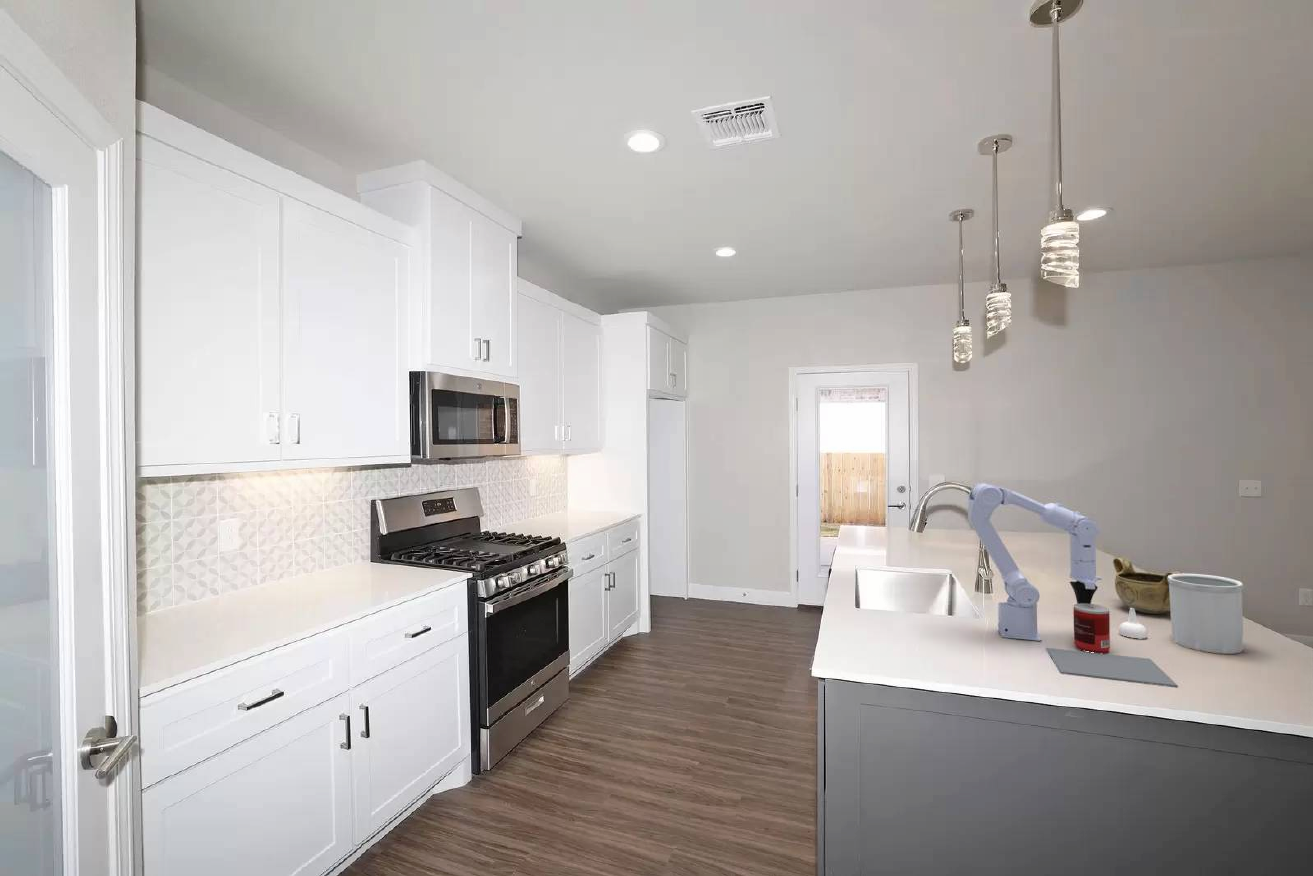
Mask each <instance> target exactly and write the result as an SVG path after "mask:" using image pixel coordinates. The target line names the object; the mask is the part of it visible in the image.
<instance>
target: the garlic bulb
mask: <svg viewBox="0 0 1313 876" xmlns="http://www.w3.org/2000/svg"><path fill="white" fill-rule="evenodd" d="M1118 633H1119V634H1120V635H1121V636H1122V635H1123V636H1122V637H1124V636H1127V637H1126V638H1128V637H1131V638H1130V639H1132V638H1138V639H1137V640H1144V639H1147V637H1148V630H1147V628H1146V627H1145V626H1144V625H1143V624H1141V623H1139V621H1138V618H1137V614H1136V610H1135V609H1133V608H1130V607H1129V612H1128V619H1127V621H1124V622H1121V623H1120V625H1119V626H1118ZM1143 638H1144V639H1143Z"/></svg>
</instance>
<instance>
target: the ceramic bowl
mask: <svg viewBox="0 0 1313 876" xmlns="http://www.w3.org/2000/svg"><path fill="white" fill-rule="evenodd" d="M1112 563H1113V567H1114V569H1115V571H1116V574H1115V581H1114V587H1115V588H1114V589H1115V592H1116V594H1117V596H1118V598H1119V599H1120V601H1121V602H1122V603H1123V604H1124V605H1126V607H1128V608H1129V609H1130V608H1133V609H1135V612H1139V613H1143V614H1148V615H1161V614H1166V613H1168V612H1171V611H1170V593H1169V582H1168V576H1169V575H1172V574H1184V573H1183V572H1182V571H1169V572H1167V573H1166V574H1163V573H1155V572H1147V571H1146V572H1145V571H1136V570H1134V567H1133V564H1132V562H1131V561H1130V559H1128V558H1126V557H1115V558H1114V559H1113V562H1112Z"/></svg>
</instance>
